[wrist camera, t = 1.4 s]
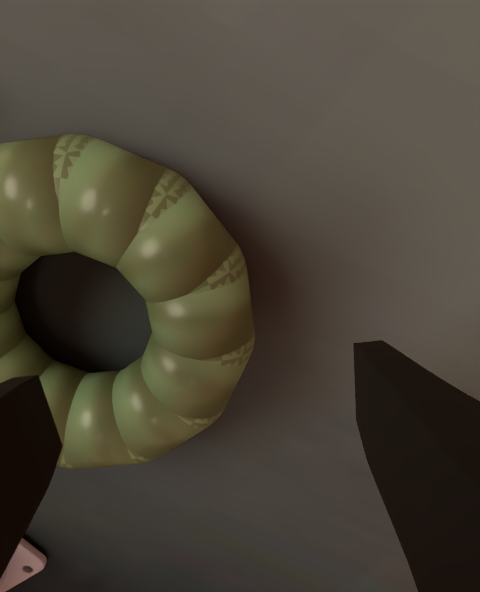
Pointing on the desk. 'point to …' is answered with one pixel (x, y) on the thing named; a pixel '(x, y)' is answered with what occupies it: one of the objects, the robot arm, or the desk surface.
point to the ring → (142, 276)
